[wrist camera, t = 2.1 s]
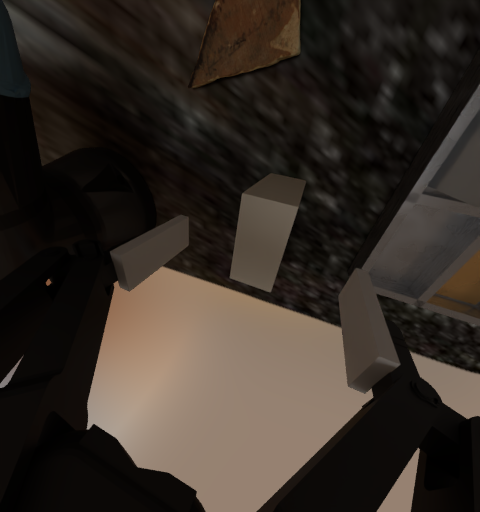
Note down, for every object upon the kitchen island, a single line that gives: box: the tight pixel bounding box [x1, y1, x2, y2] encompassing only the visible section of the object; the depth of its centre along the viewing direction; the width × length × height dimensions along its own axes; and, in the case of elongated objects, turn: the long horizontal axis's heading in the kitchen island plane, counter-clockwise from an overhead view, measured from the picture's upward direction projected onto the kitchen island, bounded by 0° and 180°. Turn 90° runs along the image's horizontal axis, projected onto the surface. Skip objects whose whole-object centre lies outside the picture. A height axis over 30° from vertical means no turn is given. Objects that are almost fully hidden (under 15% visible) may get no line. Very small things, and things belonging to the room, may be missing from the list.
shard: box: [188, 0, 301, 88], centre depth 16 cm, size 11×8×2 cm
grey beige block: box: [230, 173, 306, 292], centre depth 19 cm, size 4×8×10 cm, turn 171°
